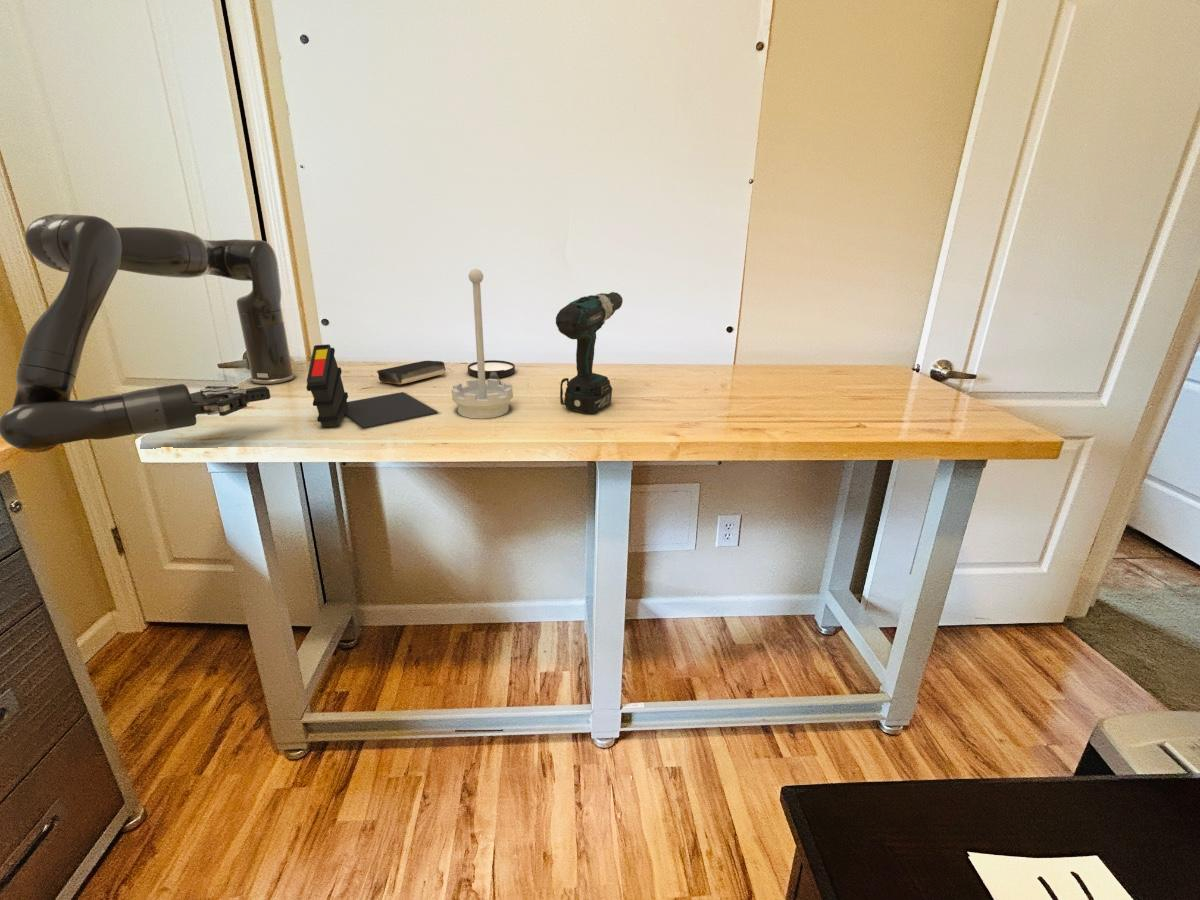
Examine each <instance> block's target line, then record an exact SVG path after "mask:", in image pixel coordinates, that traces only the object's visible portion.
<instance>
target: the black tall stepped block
mask: <svg viewBox="0 0 1200 900" xmlns="http://www.w3.org/2000/svg"><path fill="white" fill-rule="evenodd" d="M335 352H336V350H335V347H332V346H331V344H329V343H328V344H315V345H314V346H313V349H312V354H311V358H310V363H309V368H308V373H307V377H306V390H307V392H311V394H312V397H313V401H312V406H313V407H316V409H317V413H318V416H317V418H316V421H317V422H320V425H321V427H322V428H323V429H324V428H335V427H336V428H337V427H338V426H339V425H340V423H341V421H342V419H343V418H344V417H345V413H346V411H347V409H348V404H347V402H348V401H347V400H348V398H349V393H348V392H347V391H345V388H344V383H343V380H342V377H341V376H342V372H343V371H342V368H341V367H339V366H338V363H337V360H336V357H335Z"/></svg>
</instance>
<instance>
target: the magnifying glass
mask: <svg viewBox="0 0 1200 900" xmlns="http://www.w3.org/2000/svg"><path fill="white" fill-rule="evenodd" d="M484 365H485V379H498V380H499V385H502V382H501V379H502V378H505V377H507V376H511V375H514V373H516V365H515V364H514V363H513V362H510V361H506V360H496V359H494V360H493V359H492V360H491V359H490V360H489V359H488V360H484ZM467 373H468V374H469V375H470V376H471V377H476V378H478V368H477V361H475V362H472V363H469V364H468V365H467Z"/></svg>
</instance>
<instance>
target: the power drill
mask: <svg viewBox="0 0 1200 900" xmlns="http://www.w3.org/2000/svg"><path fill="white" fill-rule="evenodd" d="M622 294H623V293H622ZM623 303H624V302H623V296H622V295H621V294H620V293H618V292H615V291H611V292H609V293H603V292H601V293H597V294H591V295H587V296H581V297H579V298H577V299H575V300H573V301H570V302H569V303H568V304H566V305H565V306H564V307H563V308H561V309H560V310H559V311H558V313H556V316H555V325H556V327H557V330H558V332H559V333H560V334H562V335H563V336H566V337H567V339H570V340H576V352H575V362H576V372H577V373H576V375H575V376H574V377H572V378H571V379H569V378H568V377H565V378H564V377H562V379H561V381H560V382H559V383H558V384H559V385H560V387H559V388H560V389H559V403H560V405H561V406H565V409H567V410H568V411H569V410H570V411H573V412H578V413H582V414H596V413H598V412H600V411H602V410H603V409H604V408H606V407H607V406H609V405H610V404H611V403H612V398H613V397H612V395H613V387H612V385H611V381H610V379H609V377H608V376H606V375H603V374H600V373H596V372H593V366H594V358H595V346H596V340H597V332H598V331H599V330H600V329H602V327H603V326H604V325H605V324H606V321H607V320H609V319H610V318H611V317H612V316H613V315H614V314H615V312H616V311H617V310H619V309H620V308H621V307H622V305H623ZM565 382H566V386H567V387H566V388H565V392H564V389H563V385H564V383H565ZM563 395H564V396H563Z"/></svg>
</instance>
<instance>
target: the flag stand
mask: <svg viewBox="0 0 1200 900" xmlns="http://www.w3.org/2000/svg"><path fill="white" fill-rule="evenodd" d="M468 280H469V281H470V282H471V283H472V295H473V297H472V298H473V312H474V313H473V314H474V315H473V316H474V330H475V331H474V333H475V349H476V362H477V368H478V377H477V378H472V379H466V385H463V384H462V383H461V382H457V383H454V384H453V385H452V388H451V397H452V398H451V399H452V401H453V402H454V403H455V404H457V413H458V414H459V415H460V416H463V417H466V418H469V419H470V418H471V419H491V418H497V417H501V416H504V415H506V414H507V413H508V412H509V411H510V408H509V407H510V406H509V405H510V404H509V402H510V401H511V400H512V399H513V398H514V391H513V384H512V383H511V382H509V381H504V382H503V383H502V384H501V385H499V380H500V379H499V380H498V379H489V378H487V383H486V378H485V365H484V361H485V349H484V347H485V346H484V331H483V330H484V329H483V327H484V326H483V309H482V294H481V293H482V292H481V283H482V282H483V280H484V273H483V272H482V270H481V269H479V268H473V269H471V270H470V271H469V272H468Z"/></svg>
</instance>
